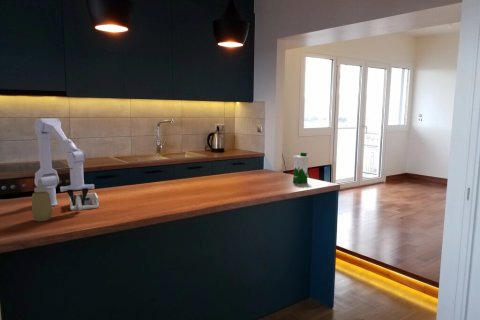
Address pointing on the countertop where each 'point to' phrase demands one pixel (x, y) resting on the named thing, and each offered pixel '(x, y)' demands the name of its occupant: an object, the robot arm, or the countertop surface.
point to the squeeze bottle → (41, 203)
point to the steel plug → (78, 202)
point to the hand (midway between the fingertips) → (78, 204)
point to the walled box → (94, 205)
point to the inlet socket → (87, 202)
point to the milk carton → (300, 168)
